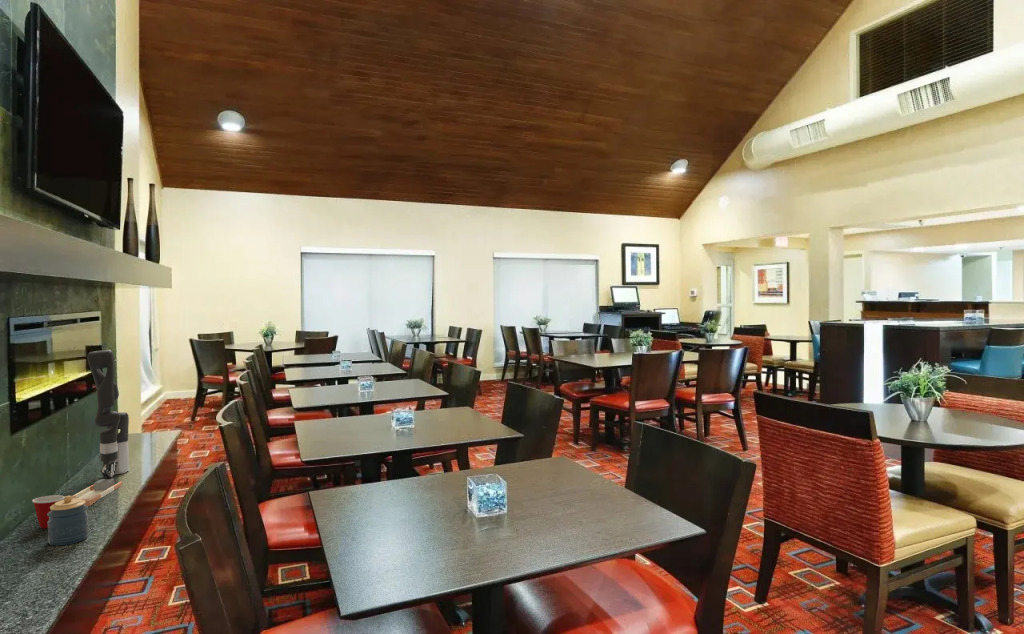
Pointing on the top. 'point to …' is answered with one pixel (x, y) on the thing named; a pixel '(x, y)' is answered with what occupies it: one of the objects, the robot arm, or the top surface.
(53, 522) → the canister
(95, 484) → the slate block
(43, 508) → the plastic cup
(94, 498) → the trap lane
